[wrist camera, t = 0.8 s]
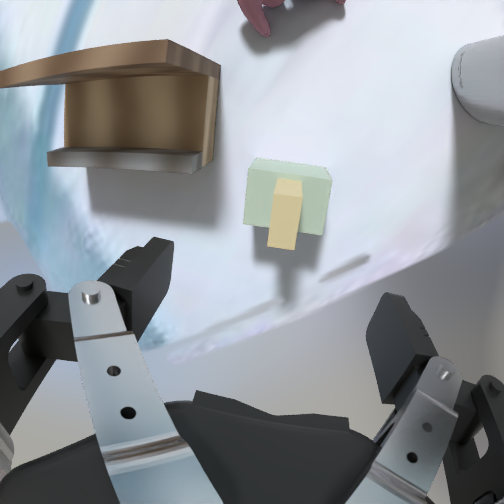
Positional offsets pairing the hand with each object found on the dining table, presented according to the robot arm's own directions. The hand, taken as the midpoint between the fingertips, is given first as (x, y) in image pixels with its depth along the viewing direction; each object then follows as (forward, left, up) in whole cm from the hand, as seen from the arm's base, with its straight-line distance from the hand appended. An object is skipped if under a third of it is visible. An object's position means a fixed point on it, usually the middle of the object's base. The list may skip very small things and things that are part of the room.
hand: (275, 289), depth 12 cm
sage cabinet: (0, +2, -22) cm, 22 cm away
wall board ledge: (+16, -4, -22) cm, 28 cm away
